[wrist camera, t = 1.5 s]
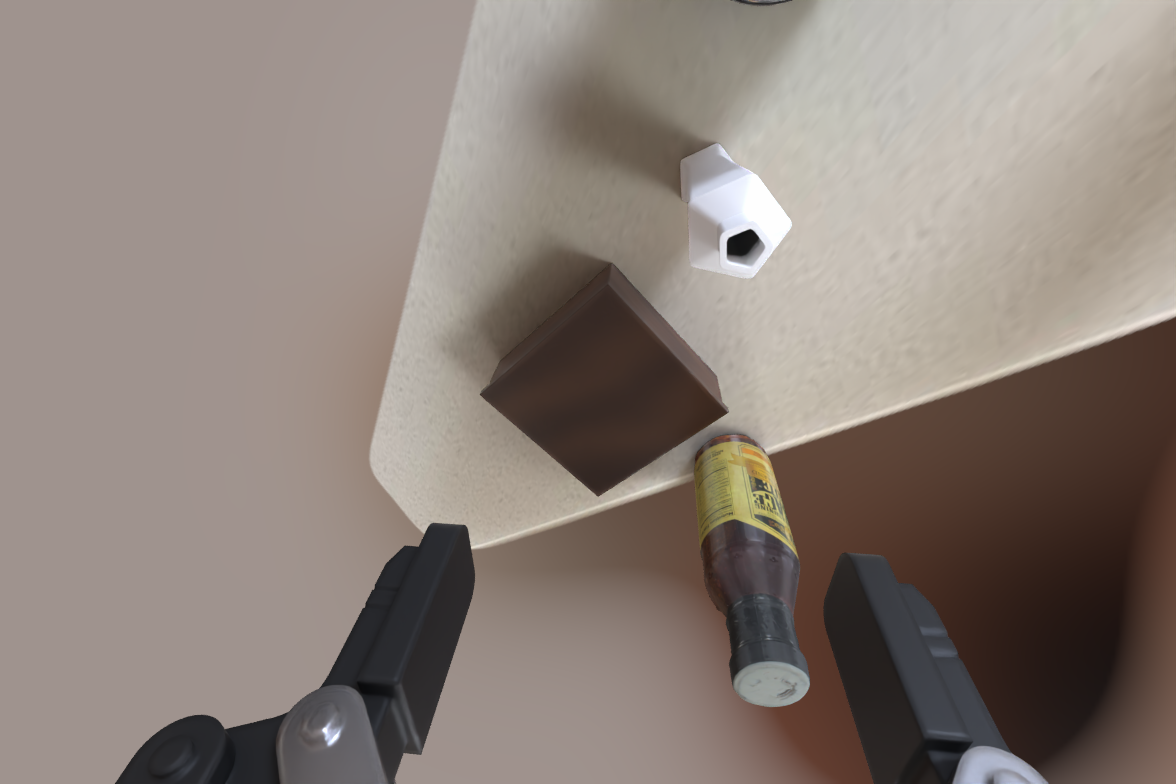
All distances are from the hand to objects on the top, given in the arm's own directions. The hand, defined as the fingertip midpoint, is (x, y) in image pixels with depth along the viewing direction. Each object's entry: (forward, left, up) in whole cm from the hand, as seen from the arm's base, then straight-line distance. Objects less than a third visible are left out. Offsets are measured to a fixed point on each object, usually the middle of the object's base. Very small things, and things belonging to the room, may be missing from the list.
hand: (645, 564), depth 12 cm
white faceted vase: (0, +4, -29) cm, 29 cm away
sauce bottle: (+19, -8, -29) cm, 36 cm away
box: (+6, -10, -28) cm, 31 cm away
